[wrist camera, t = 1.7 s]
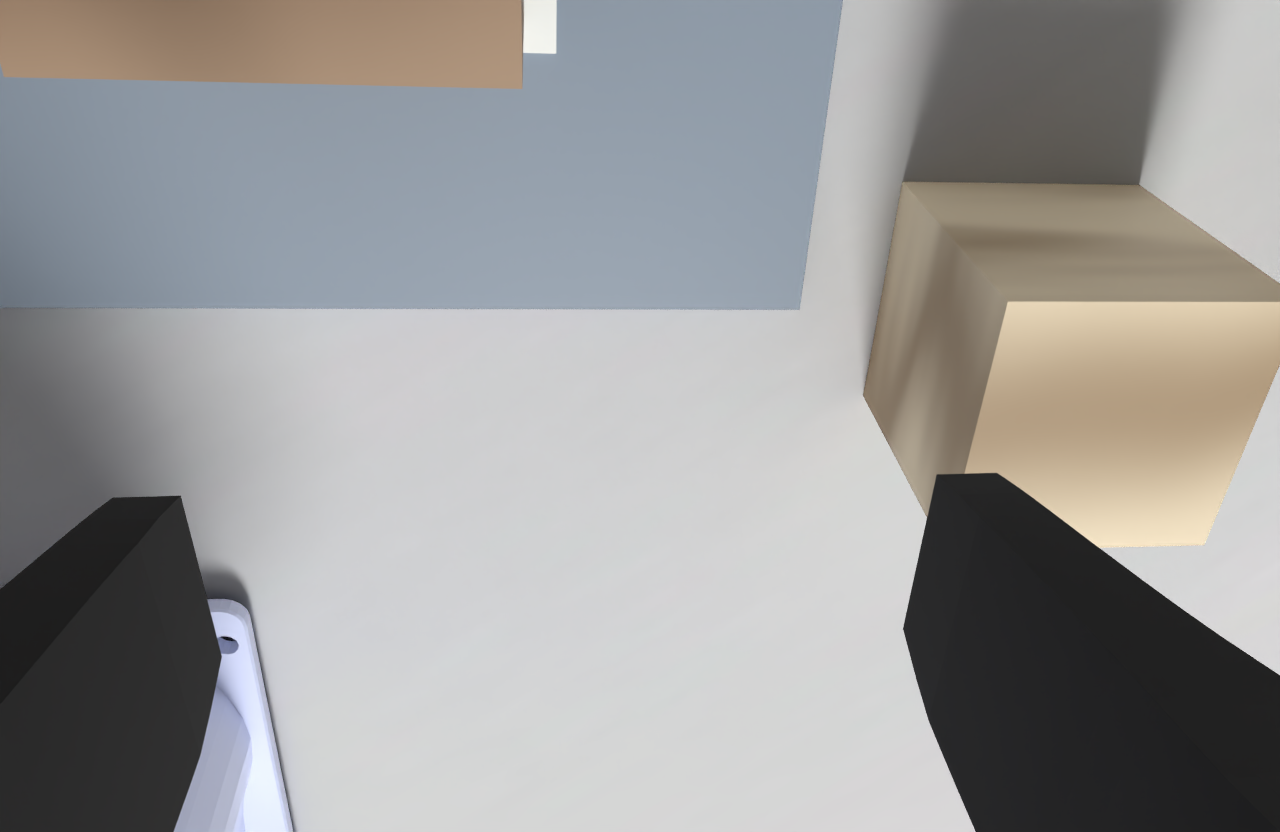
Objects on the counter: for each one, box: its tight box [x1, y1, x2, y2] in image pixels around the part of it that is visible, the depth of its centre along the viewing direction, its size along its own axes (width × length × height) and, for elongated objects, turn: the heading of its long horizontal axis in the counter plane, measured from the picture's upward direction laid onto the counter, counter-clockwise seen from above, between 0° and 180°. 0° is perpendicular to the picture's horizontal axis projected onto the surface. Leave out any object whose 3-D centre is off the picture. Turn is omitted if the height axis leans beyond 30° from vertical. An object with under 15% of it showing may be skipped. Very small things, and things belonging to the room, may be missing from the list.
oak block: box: [863, 182, 1280, 548], centre depth 18 cm, size 4×4×5 cm
